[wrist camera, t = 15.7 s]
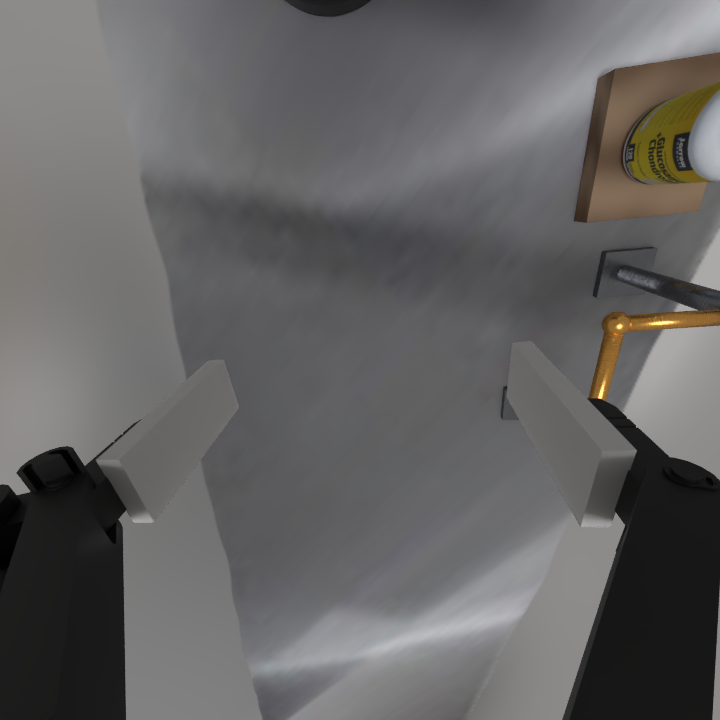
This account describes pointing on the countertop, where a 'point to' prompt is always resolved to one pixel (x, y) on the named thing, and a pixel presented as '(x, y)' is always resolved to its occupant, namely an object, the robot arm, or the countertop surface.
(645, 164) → the pill bottle
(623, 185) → the pad
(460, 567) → the countertop surface
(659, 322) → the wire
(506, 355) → the countertop surface
